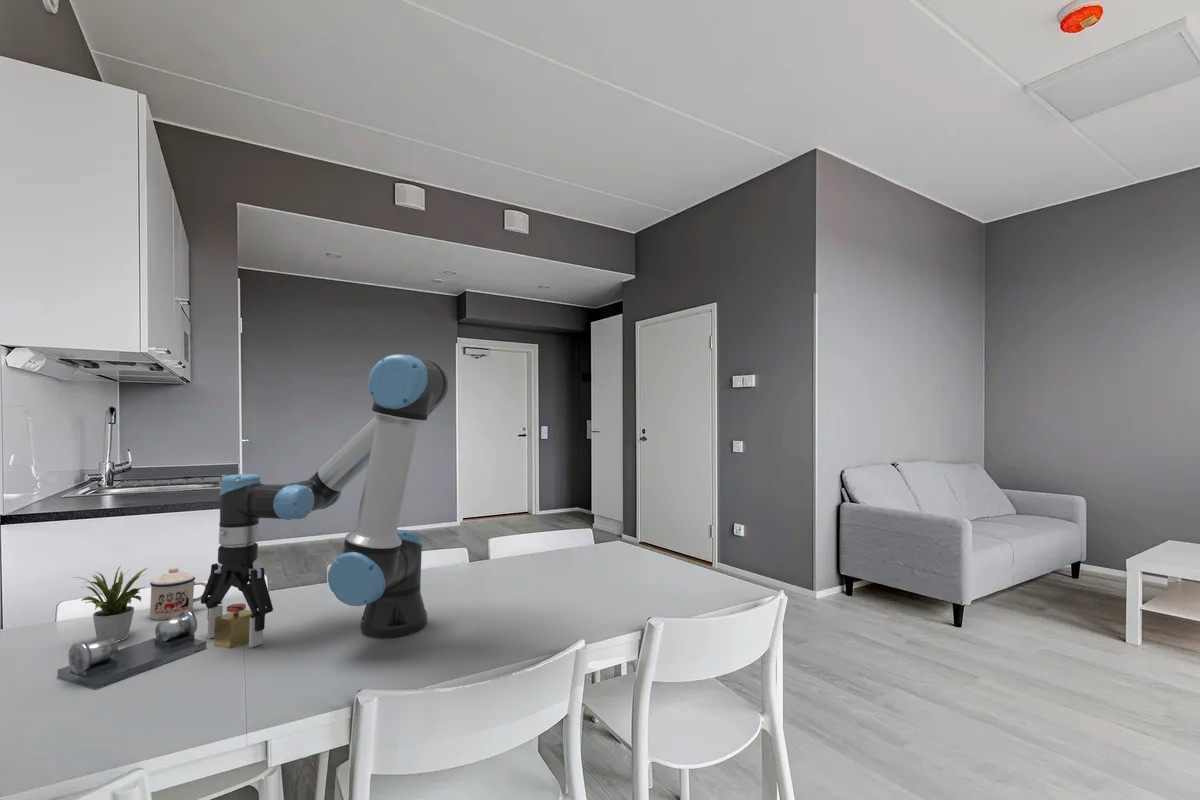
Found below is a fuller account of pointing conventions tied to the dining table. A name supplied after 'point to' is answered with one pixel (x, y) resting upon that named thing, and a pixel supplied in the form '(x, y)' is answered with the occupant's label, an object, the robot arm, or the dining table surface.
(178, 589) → the teacup with lid
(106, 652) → the pipe run
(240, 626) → the brass valve
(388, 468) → the robot arm
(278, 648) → the dining table surface
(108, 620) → the house plant
